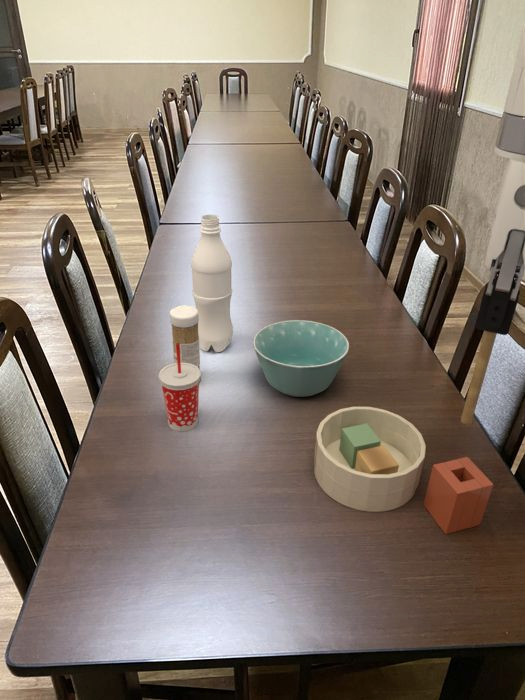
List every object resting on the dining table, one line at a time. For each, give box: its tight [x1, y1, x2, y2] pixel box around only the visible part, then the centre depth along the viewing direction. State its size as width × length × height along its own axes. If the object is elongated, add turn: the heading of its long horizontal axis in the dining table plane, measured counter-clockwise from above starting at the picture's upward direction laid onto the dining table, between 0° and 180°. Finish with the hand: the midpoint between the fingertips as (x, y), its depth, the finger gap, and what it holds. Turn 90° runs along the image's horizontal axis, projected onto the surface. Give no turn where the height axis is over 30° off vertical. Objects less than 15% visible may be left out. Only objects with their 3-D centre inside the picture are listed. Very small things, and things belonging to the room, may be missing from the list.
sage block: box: [339, 424, 381, 469], centre depth 75 cm, size 4×4×4 cm
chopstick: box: [460, 331, 498, 425], centre depth 57 cm, size 1×1×18 cm
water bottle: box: [190, 214, 234, 353], centre depth 96 cm, size 7×7×25 cm
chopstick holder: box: [423, 456, 494, 535], centre depth 66 cm, size 5×5×7 cm
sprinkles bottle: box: [169, 304, 202, 383], centre depth 89 cm, size 5×5×13 cm
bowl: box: [252, 319, 350, 398], centre depth 91 cm, size 16×16×8 cm
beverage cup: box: [158, 343, 202, 432], centre depth 79 cm, size 6×6×14 cm
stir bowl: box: [313, 406, 427, 513], centre depth 73 cm, size 14×14×6 cm
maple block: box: [355, 445, 399, 475], centre depth 71 cm, size 4×4×4 cm
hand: (492, 325), depth 55 cm, fingers closed on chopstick, 1 cm apart
